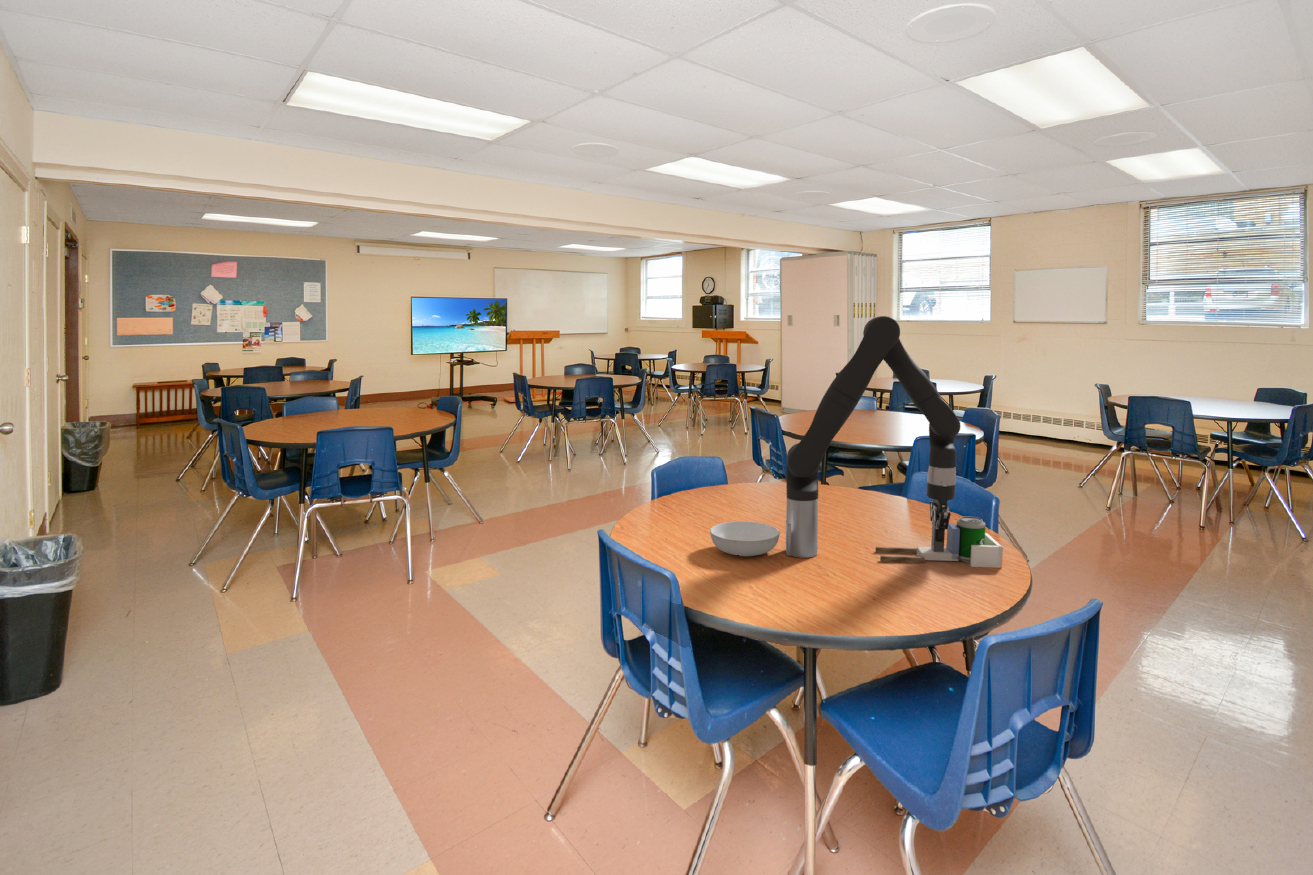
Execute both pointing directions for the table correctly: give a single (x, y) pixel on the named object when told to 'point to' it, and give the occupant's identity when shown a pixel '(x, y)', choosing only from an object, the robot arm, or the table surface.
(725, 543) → the serving bowl
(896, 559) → the track
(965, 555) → the soda can
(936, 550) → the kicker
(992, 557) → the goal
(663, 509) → the table surface
